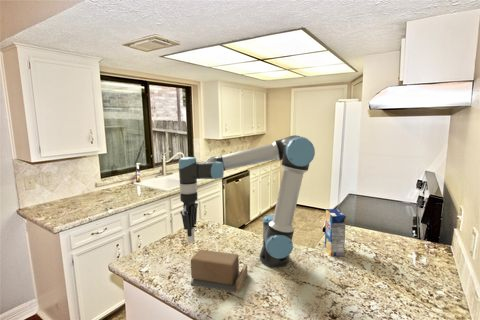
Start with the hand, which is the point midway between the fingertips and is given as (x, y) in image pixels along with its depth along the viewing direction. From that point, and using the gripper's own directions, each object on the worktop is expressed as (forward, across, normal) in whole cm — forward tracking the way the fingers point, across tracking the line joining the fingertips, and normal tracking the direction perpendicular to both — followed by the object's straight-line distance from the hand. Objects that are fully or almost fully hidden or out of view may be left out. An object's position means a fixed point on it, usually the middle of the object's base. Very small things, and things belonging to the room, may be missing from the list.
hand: (191, 241), depth 120 cm
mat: (+16, 0, +13) cm, 21 cm away
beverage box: (+17, -39, +65) cm, 78 cm away
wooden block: (+11, 0, +1) cm, 11 cm away
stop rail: (+16, 0, +24) cm, 29 cm away
